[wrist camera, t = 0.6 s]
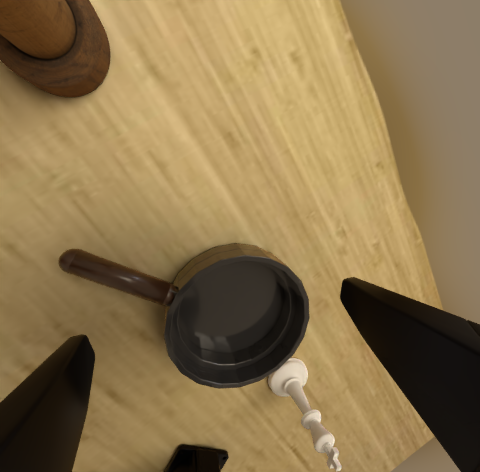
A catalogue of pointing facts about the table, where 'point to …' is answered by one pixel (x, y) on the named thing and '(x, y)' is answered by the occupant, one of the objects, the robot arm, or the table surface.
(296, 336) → the pan
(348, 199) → the table surface
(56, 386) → the robot arm
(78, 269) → the pan handle
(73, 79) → the mortar and pestle
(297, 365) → the chess piece
